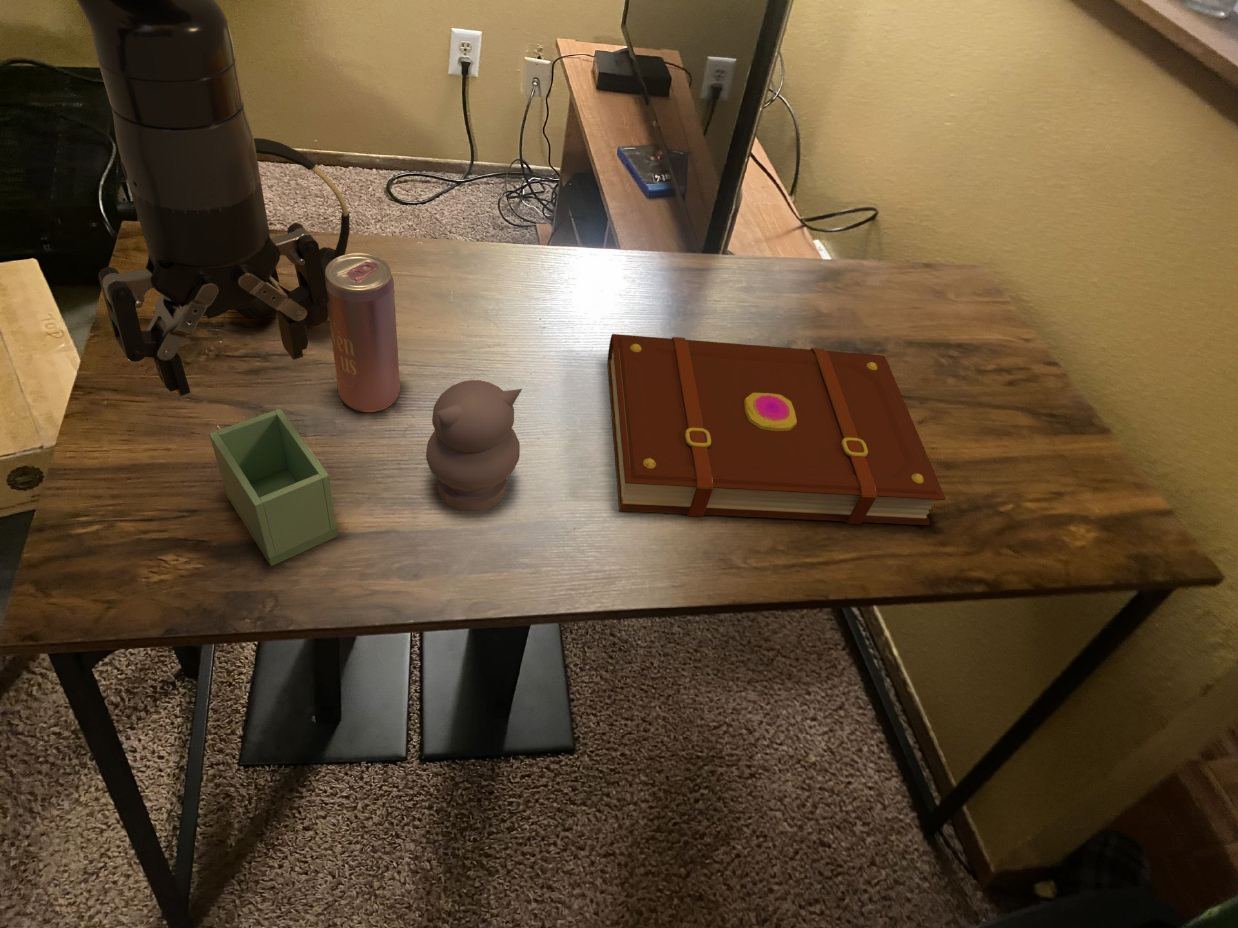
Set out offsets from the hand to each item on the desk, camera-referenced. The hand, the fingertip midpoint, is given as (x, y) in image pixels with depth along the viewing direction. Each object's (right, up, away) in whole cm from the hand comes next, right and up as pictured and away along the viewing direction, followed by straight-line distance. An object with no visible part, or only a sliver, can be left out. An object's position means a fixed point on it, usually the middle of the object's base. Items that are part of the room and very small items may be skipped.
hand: (239, 369), depth 64 cm
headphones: (-7, +9, +28) cm, 30 cm away
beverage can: (+4, 0, +21) cm, 22 cm away
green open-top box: (-3, -6, +9) cm, 11 cm away
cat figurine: (+15, -9, +15) cm, 23 cm away
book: (+44, -5, +26) cm, 51 cm away
